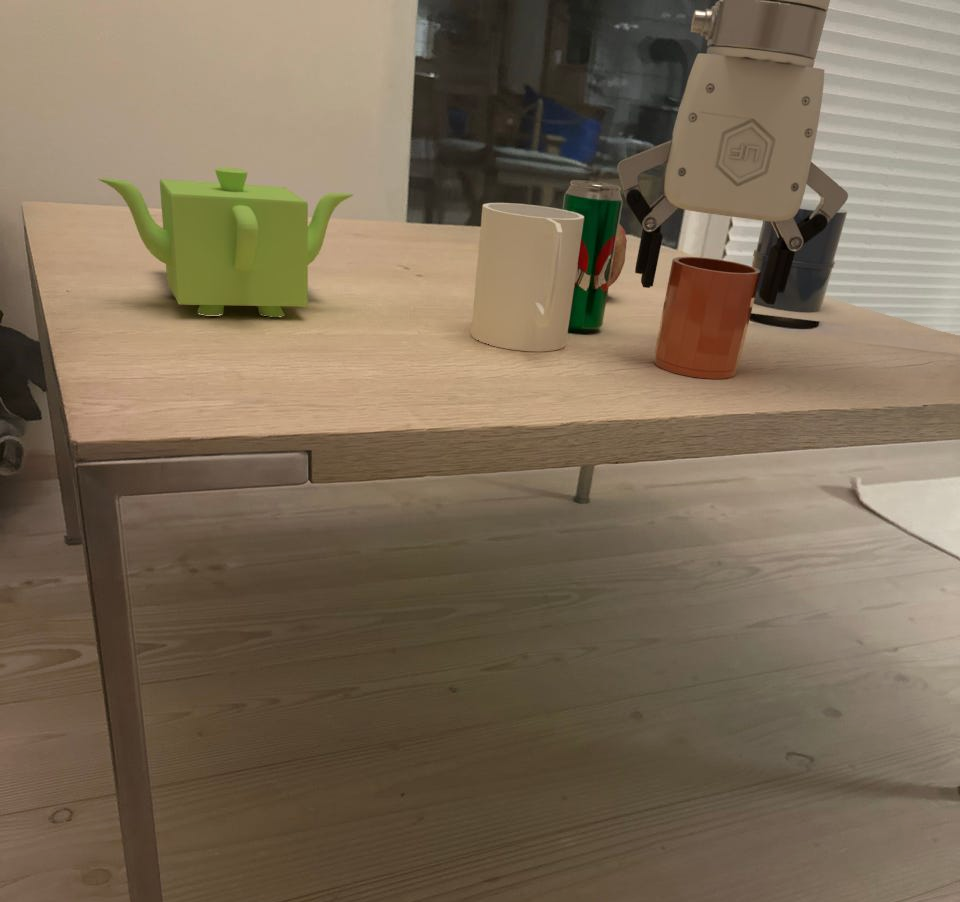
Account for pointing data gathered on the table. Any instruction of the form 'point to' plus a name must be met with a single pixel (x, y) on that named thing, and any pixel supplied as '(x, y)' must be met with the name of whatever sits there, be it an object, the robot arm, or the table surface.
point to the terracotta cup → (705, 317)
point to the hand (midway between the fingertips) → (706, 292)
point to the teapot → (232, 240)
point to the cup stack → (800, 270)
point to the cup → (525, 276)
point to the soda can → (593, 250)
